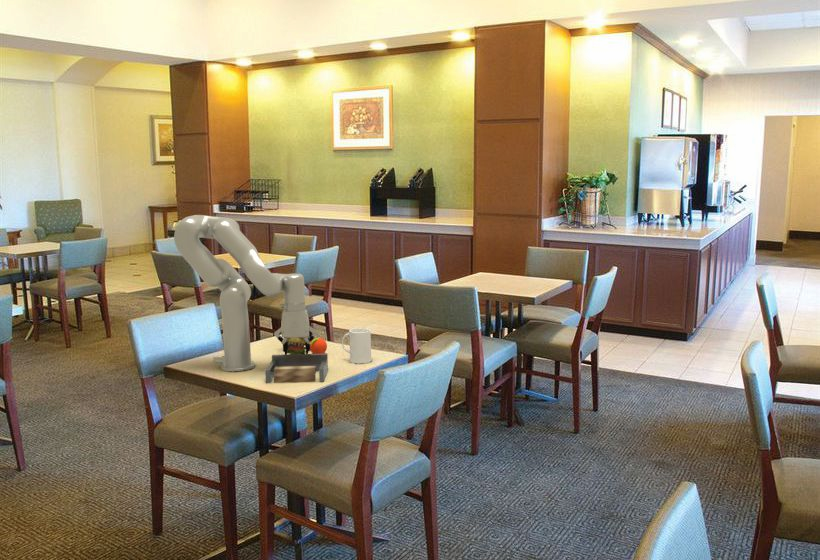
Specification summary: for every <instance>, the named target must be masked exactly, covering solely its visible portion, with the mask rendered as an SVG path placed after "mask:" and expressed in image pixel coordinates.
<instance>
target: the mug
mask: <svg viewBox="0 0 820 560" xmlns="http://www.w3.org/2000/svg"><path fill="white" fill-rule="evenodd" d="M371 334H372V333H371V329H369V328H366V327H354V328H351V329H349V331H348V332H347V333H345V334H344V335H343V337H342V338H341V346H342V348H343V350H344V351H345V352H346V353H348V354H349V362H350V363H351V362H352V363H351V364H355V363H357V364H359V363H364V364H368V363H367V362H369V363H371V362H372V361H373V359H372V338H371V337H372V335H371ZM347 337H349V349H347V348H346V347H345V344H344V340H345V338H347ZM370 361H371V362H370ZM357 364H356V365H357ZM359 365H360V364H359Z"/></svg>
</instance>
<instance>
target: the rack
mask: <svg viewBox="0 0 820 560" xmlns="http://www.w3.org/2000/svg"><path fill="white" fill-rule="evenodd" d="M328 356H329V355H328V353H323V354H313V353H308V354H306V353H305V354H289V353H287V354H286V355H285V354H272V355H271V360H270V363H269V364H268V366H267V367H266V368H265V373H264V374H265V375H264V376H265V384H271V382H272V381H273V380H274V369H275V367H288V366H316V372H318V377H319V383H324V382H325V379H326V377H327V374H328V371H329V364H328V363H329V360H328V358H329V357H328Z"/></svg>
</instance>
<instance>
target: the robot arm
mask: <svg viewBox="0 0 820 560" xmlns="http://www.w3.org/2000/svg"><path fill="white" fill-rule="evenodd" d="M177 223H178V224H176V227H175V230H174V233H173V234H174V235H173V238H174V239H173V240H174V245H175V247H176V249H177V251H178V253H179V254H180V255H181V257H183V259H184V260H185V261H186V262H187V263H188V265H189V266H190V267H191V269H193V271H194V272H196V274H197V275H198V276H199V277H200V278H201V280H202V281H203V282H204V283H205V284H206V285H207V286H209V287H212V288H218V289H219V290H220V294H219V307H220V314H221V324H222V338H223V341H222V342H223V353H224V355H222V356H213V358H212V362H213V363H215V364H220V369H221V371H224V372H229V371H232V372H234V371H237V372H245V371H248V370H252V369H254V368H255V367H256V362H255V361H254V360H252V356H251V355H252V353H251V338H250V337H251V335H250V320H249V311H248V301H249V300H250V299H251V296H252V289H251V286H250V285H249V284H248V282H247V281H246V280H245V279H244V277H243V276H242V275H241V274H240V273H239V272H238V271H237V269H236V268H235V267H234V266H233V265H232V264H231V263H230V262H228V261H227V260H226V259H223V258H216V257H215V255H214V254H213V253H212V252H211V251H210V250H209V249H208V248H207V246H205V245H204V244H203V243H202V242H201V240H200V239H201V238H202V239H212V240H216V242H218V243H219V244H220V245H221V246H222V248H223V249H224V250H225V251H226V252H227V253H228V255H229V256H230V257H232V259H234V261H235V262H236V263H237V264H238V266H239V268H240V269H241V270H242V271H243V272H244V275H245V276H246V277H247V278H248V280H249V281H250V282H251V283H252V284H253V285H254V286H255V288H256V289H258V290H259V292H260V293H262V295H264V296H265V297H268V298H273V297H277V295H279V294H280V293H281V292H283V301H284V303H281V304H280V308H281V309H284V310H282V313H281V326H280V328H278V329H277V330H276V331H274V333H273V335H274V336H275V338H276V339H277V340H278V341H279V342H280V343H281V344H282V352H283V353H284V355H288V354H289V353H288V350H287V349H288V344H287V342H286V340H287V338H304V339H305V341H306V344H305V346H304V347H305V354H309V353H310V352H311V351H310V342H311V341H312V340H313V339H315V338H316V336H317V335H318V333H319V332H318V331H317V330H316V329H315V328H313V327H312V326H311V325H310V319H309V313H308V310H307V309H306V298H305V297H306V296H305V294H306V293H305V277H304V275H303V274H301V273H279V272H278V273H277V272H275V273H274V272H271V270H269V269H268V268H267V267H266V265H265V264H264V263H263V261H262V259H261V257H260V255H259V252H258V250H257V248H256V246H255V245H254V244H253V243H252V242H251V241H250V240H249V239H248V238H247V237H246V235H245V234H243V232H242V231H241V230H240V229H241V228H240V225H239V223H238V222H237V221H236V220H235V219H233V218H230V217H222V216H221V217H220V216H211V215H203V214H194V215H193V214H192V215H188V216H185V217H184V218H182V219H181V220H180V221H179V222H177ZM310 332H311V333H312V335H311V336H310ZM280 334H281V335H280ZM244 370H245V371H244ZM234 373H235V372H234Z"/></svg>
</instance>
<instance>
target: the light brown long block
mask: <svg viewBox="0 0 820 560" xmlns="http://www.w3.org/2000/svg"><path fill="white" fill-rule="evenodd" d="M316 373H317V371H316V366H288V367H275V369H274V377H273V383H276V382H281V383H310V382H311V383H313V382H315V381H316Z"/></svg>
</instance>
